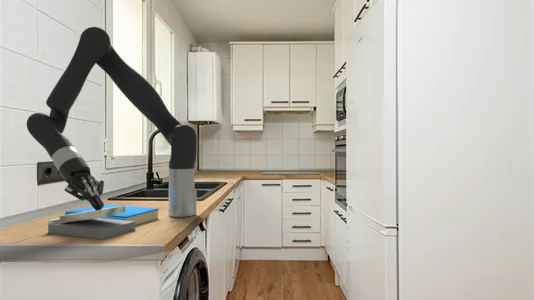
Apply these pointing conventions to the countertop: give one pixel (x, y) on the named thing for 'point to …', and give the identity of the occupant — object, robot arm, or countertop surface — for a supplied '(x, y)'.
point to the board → (91, 227)
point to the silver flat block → (92, 214)
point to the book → (126, 213)
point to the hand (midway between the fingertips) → (100, 208)
